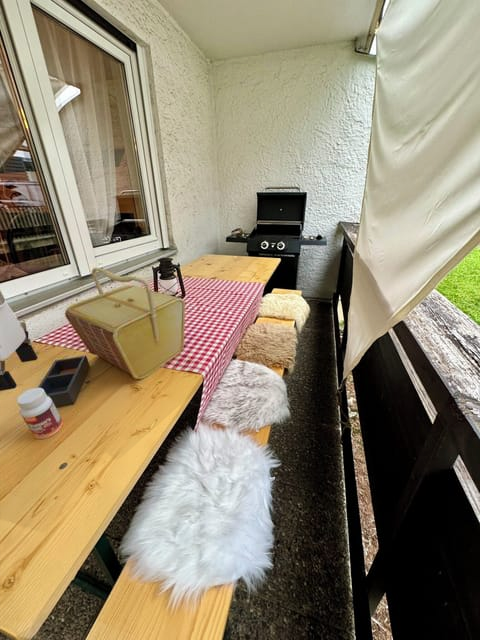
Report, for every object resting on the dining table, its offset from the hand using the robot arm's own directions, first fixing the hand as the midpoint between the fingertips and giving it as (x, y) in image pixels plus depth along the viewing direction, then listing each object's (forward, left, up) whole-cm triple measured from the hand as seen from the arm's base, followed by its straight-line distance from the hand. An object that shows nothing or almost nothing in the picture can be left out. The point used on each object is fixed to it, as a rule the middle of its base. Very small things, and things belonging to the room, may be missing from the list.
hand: (19, 373), depth 56 cm
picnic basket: (+19, +27, -18) cm, 37 cm away
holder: (-1, +16, -18) cm, 24 cm away
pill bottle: (0, 0, -18) cm, 18 cm away
